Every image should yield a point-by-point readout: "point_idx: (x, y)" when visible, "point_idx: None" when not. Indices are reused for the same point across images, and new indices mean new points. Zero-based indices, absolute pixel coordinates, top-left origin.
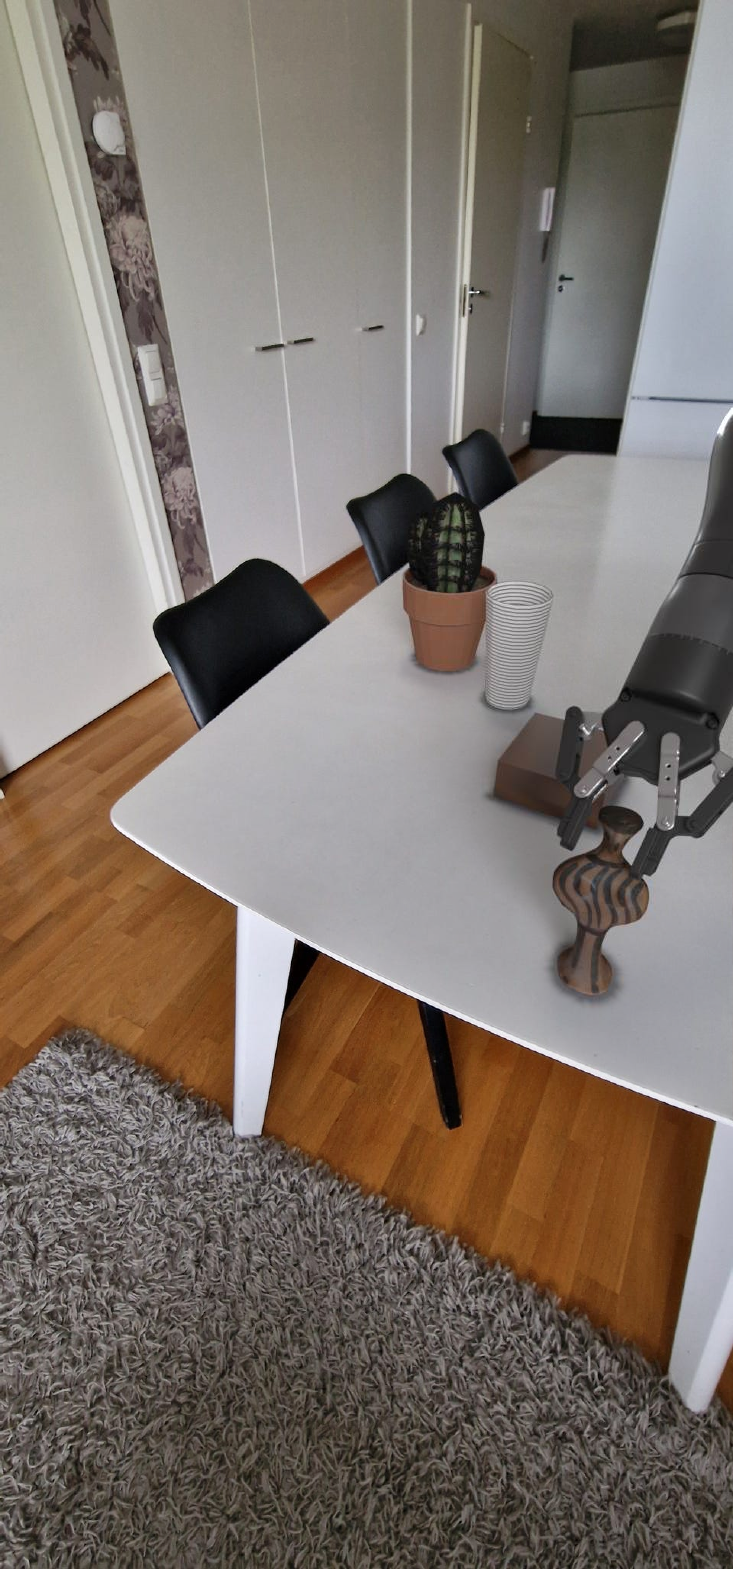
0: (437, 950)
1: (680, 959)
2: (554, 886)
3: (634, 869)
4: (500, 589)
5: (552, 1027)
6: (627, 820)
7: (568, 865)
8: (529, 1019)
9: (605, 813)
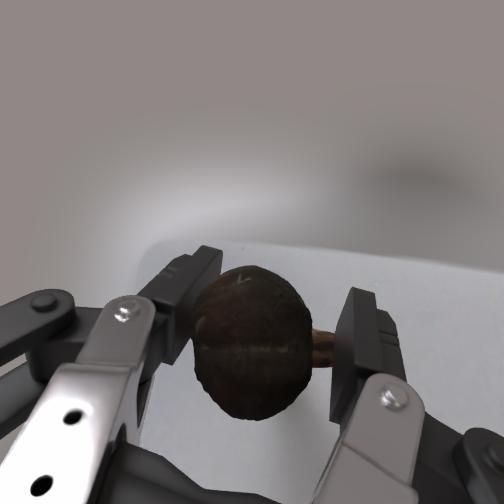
0: (431, 316)
1: (161, 405)
2: None
3: (211, 249)
4: None
5: (284, 263)
6: (233, 287)
7: (331, 336)
8: (307, 263)
9: (296, 308)
